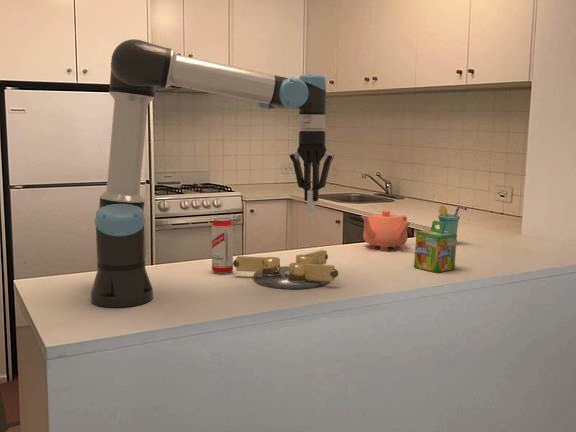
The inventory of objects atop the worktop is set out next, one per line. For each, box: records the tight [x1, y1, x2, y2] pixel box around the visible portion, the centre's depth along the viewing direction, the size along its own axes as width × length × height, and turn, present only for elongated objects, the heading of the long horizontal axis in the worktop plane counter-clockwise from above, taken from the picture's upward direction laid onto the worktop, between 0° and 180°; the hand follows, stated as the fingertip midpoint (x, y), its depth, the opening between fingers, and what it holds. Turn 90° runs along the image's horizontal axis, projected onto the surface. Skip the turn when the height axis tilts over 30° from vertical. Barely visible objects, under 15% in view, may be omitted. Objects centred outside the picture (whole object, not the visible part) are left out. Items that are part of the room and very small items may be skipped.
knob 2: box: [295, 249, 329, 265], centre depth 190 cm, size 14×5×4 cm, turn 142°
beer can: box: [211, 217, 234, 275], centre depth 189 cm, size 6×6×16 cm
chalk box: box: [413, 220, 458, 274], centre depth 196 cm, size 9×9×15 cm
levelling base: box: [253, 265, 331, 291], centre depth 183 cm, size 22×22×2 cm
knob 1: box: [233, 255, 281, 275], centre depth 184 cm, size 14×5×4 cm, turn 82°
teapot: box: [360, 209, 410, 252], centre depth 227 cm, size 16×17×14 cm
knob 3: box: [289, 262, 339, 282], centre depth 175 cm, size 14×5×4 cm, turn 76°
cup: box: [437, 204, 468, 235], centre depth 234 cm, size 14×8×15 cm, turn 35°
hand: (311, 212), depth 185 cm, fingers closed
